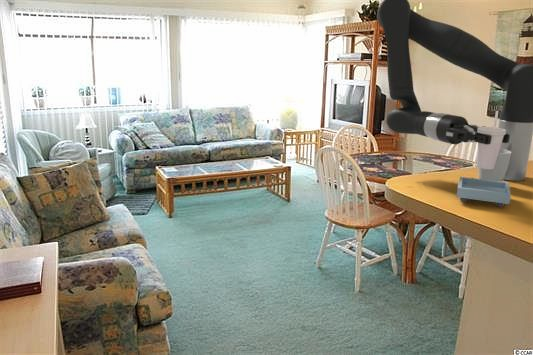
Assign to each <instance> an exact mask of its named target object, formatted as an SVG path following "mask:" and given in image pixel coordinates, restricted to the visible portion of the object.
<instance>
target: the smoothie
mask: <svg viewBox="0 0 533 355" xmlns="http://www.w3.org/2000/svg"><path fill="white" fill-rule="evenodd" d="M498 116H499V110H496V111H495V116H494V120H493V126H486V127H483V126H479V127H478V129H477V132H478V133H481V134H487V135H491V137H492V138H491V143H490V144H482V143H478V142H477V158H476V160H477V161H476V162H477V165H476V166H477V167H476V168H478V167H479V168H482V169H494V165H495V162H496V159H497V156H498V153H499V150H500V146H501V143H502V140H503V137H504V135H505V134H506V130H505V129H502V128H498V127H497V122H498V118H499V117H498Z"/></svg>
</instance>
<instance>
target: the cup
mask: <svg viewBox="0 0 533 355" xmlns="http://www.w3.org/2000/svg"><path fill="white" fill-rule="evenodd" d="M510 156H511V151H509V150H505V149H500V150H499V153H498V156H497V159H496V162H495V165H494V169H482V168H479V167H477V175H478V179H483V180H492V181H500V182H504V176H505V173H506V171H507V168H508V164H509V160H510Z"/></svg>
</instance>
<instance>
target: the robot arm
mask: <svg viewBox="0 0 533 355" xmlns="http://www.w3.org/2000/svg"><path fill="white" fill-rule="evenodd" d="M376 19H377V24H379V26H380V27H381V28H382V29H383V31H384V32H383V33H384V36H385V42H386V51H387V52H386V53H387V54H386V55H387V60H386V61H387V63H386V64H387V66H386V68H387V80H388V81H387V82H388V83H387V84H388V91H389V93H388V94H389V97H390V99H391V100H393V101H397V102H400V105H401V106H402V107H400V108H399V107H398V108H395V109H392V110H391V111H389V113H388V114H387V115H386V124H387V127H388V129H390V130H391V131H392V132H395V133H399V134H406V135H407V134H408V135H409V134H410V135H419V136H423V137H426V138H430V139H432V140H434V141H438V142H442V143H445V144H446V143H447V144H450V145H459V144H461V143H462V142H463V143H465V144H466V143H473V144H474V143H477V144H478V143H482V144H490V143H491V138H492V137H491V135H487V134H481V133H478V132H477V129H478V127H480V126H478V125H477V124H469V122H468V120H467V119H466V118H465V117H464V116H460V115H455V114H449V113H444V112H443V113H442V112H432V111H426V110H424V111H422V110H421V107H420V106H421V105H420V103H419V102H418V98H417V95H416V93H415V90H414V80H413V71H412V63H411V55H410V46H409V45H410V43H409V42H410V41H413V42H414V43H416V44H418V45H419V46H421V47H423V48H424V49H425V50H427V51H429V52H431V53H432V54H434V55H436V56H437V57H439V58H441V59H443V60H444V61H446V62H448V63H451V64H452V65H455V66H456V67H459V68H461V69H464V70H466V71H469V72H471V73H474V74H476V75H478V76H481V77H484V78H485V79H487V80H489V81H491V83H493V84H495V85H497V86H498V87H499V88H501V89H502V90H504V91H505V92H506V96H505V100H504V101H505V102H504V106H503V107H502V109H501V111H500V113H499V119H498V127H497V128H502V129H505V130H506V134H505V135H504V137H503V140H502V143H501V146H500V149H505V150H509V151H511V156H510V160H509V164H508V168H507V171H506V173H505V176H504V179H503V181H504V180H505V181H513V182H516V181H517V182H518V181H525V180H526V175H527V169H528V163H529V158H530V153H531V147H532V141H533V64H526V63H520V62H518V61H515V60H513V59H510V58H508V57H505V56H503V55H501V54H499V53H498V52H496V51H495V50H494V49H492V48H491V47H490V46H489V45H487V44H486V43H485V42H483V41H482V40H481V39H479V38H477V37H476V36H475V35H473V34H471V33H469V32H467V31H466V30H464V29H461V28H460V27H458V26H454V25H451V24H448V23H444V22H441V21H437V20H432V19H430V18H427V17H425V16H423V15H421V14H419V13H418V12H416V11H414V10H413V9H412V8H411V5H410V2H409V0H382V1H381V2H380V4H379V6H378V8H377V13H376ZM409 40H410V41H409ZM482 127H487V126H485V125H483V126H482Z"/></svg>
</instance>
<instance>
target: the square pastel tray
mask: <svg viewBox="0 0 533 355" xmlns="http://www.w3.org/2000/svg"><path fill="white" fill-rule="evenodd" d="M511 192H512V191H511V187H510V183H509V182H507V181H502V182H500V181H492V180H483V179H479V178H475V177H474V178H473V177H464V176H459V180H458V185H457V190H456V198H460V201H461V203H467V202H468V200H475V201H476V200H477V201H484V202H491V203H496V207H497V208H503V207H504V206H505V204H506V205H510V203H511V198H512V197H511V196H512V193H511Z"/></svg>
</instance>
